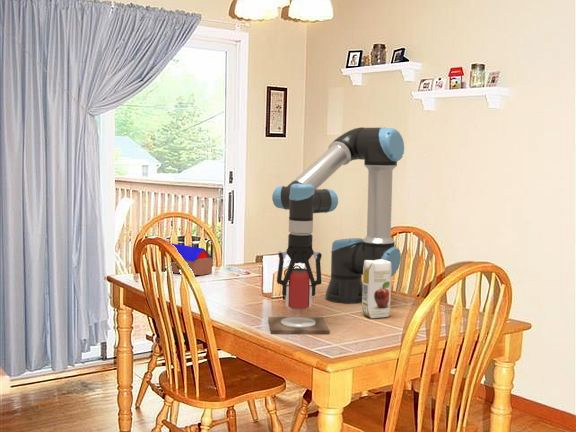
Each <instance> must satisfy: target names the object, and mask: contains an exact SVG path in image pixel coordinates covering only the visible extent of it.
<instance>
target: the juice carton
mask: <svg viewBox="0 0 576 432" xmlns="http://www.w3.org/2000/svg"><path fill="white" fill-rule="evenodd" d="M391 271H392V269H391V262H389V261H387V260H383V259H379V260H365V261H364V268H363V275H362V283H363V291H362V302H361V310H362V311H361V313H362V314H363V316H366V317H368V318H370V319H379V318H388V317H389V316H390V309H391V294H392V293H391V292H392V291H391V288H392V277H391Z"/></svg>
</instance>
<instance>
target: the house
mask: <svg viewBox="0 0 576 432" xmlns="http://www.w3.org/2000/svg"><path fill="white" fill-rule="evenodd" d="M171 244H172V245H174V246H175V247H176V248H177V250H178V252H179V253H180V254H181V255H182V257H183V258H184V259H185V261H186V262H187V263H188V265H189V267H190V268H191V269H192V271H193V273H194V275H200V276H204V275H210V274H212V273H213V257H212V255H211V254H210V253H209V252H208V251H207V250H206V249H205V248H203V247H196V246H192V245H183V244H179V243H177V244H176V243H171ZM171 266H172V271H173V272H174V273H173V274H177V273H180V272H179V269H178V268H177V266H176V265H175V264H174V263H173V262H172V263H171ZM162 271H163V272H166V271H165V263H164V258H163V257H162Z"/></svg>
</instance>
